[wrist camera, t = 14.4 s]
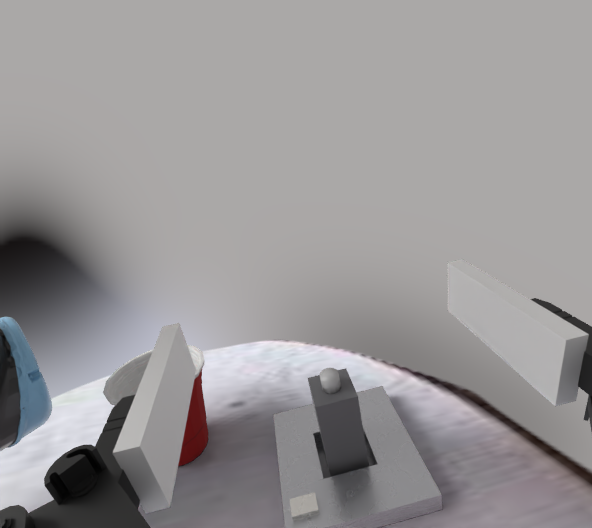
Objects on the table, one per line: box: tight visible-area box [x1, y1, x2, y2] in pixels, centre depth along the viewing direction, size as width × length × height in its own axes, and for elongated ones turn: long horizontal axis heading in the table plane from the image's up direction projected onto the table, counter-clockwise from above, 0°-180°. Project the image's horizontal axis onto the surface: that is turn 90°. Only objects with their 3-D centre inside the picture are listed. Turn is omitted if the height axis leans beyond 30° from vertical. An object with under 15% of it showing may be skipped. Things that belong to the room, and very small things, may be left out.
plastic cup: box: [103, 345, 208, 466], centre depth 41 cm, size 11×11×12 cm
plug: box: [308, 368, 369, 477], centre depth 35 cm, size 4×4×12 cm
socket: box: [273, 386, 442, 528], centre depth 36 cm, size 14×14×3 cm
